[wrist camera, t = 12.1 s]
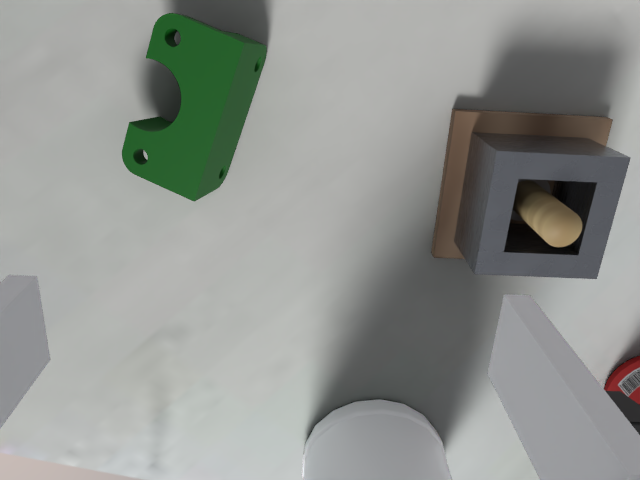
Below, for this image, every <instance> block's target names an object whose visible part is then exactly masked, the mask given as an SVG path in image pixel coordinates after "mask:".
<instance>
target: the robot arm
mask: <svg viewBox="0 0 640 480" xmlns="http://www.w3.org/2000/svg"><path fill="white" fill-rule="evenodd" d="M49 361H50V354H49V348H48V342H47V335H46V329H45V323H44V316H43V310H42V304H41V297H40V291H39V285H38V278H37V276H21V275H8V276H7V277H6V278H5V279H4V280H3V281H2V282H0V428H1V427H2V426H3V424H4V423H5V421H6V420H7V419H8V417H9V416H10V414H11V413H12V412H13V410H14V409H15V408H16V406H17V405H18V403H19V402H20V401H21V399H22V398H23V397H24V395H25V394H26V392H27V391H28V390H29V388H30V387H31V386H32V384H33V383H34V381H35V380H36V379H37V377H38V376H39V375H40V373H41V372H42V370H43V369H44V368H45V366H46V365H47V364H48V362H49ZM487 374H488V376H489V378H490V380H491V382H492V384H493V386H494V388H495V390H496V392H497V394H498V396H499V398H500V400H501V402H502V404H503V406H504V408H505V410H506V412H507V414H508V416H509V418H510V420H511V422H512V424H513V426H514V428H515V430H516V432H517V434H518V436H519V438H520V440H521V442H522V444H523V446H524V448H525V450H526V452H527V454H528V456H529V458H530V460H531V462H532V464H533V466H534V468H535V470H536V472H537V474H538V476H539V478H540V480H640V405H639V404H638V403H636V402H635V401H633V400H632V399H631V398H629V397H628V396H626V395H625V394H624V393H622V392H621V391H605V390H604V389H603V388H602V386H601V385H600V384H599V382H598V381H597V380H596V379H595V377H594V376H593V375H592V374H591V372H590V371H589V370H588V368H587V367H586V366H585V365H584V363H583V362H582V361H581V359H580V358H579V357H578V356H577V354H576V353H575V352H574V350H573V349H572V348H571V347H570V345H569V344H568V343H567V342H566V340H565V339H564V338H563V336H562V335H561V334H560V333H559V331H558V330H557V329H556V327H555V326H554V325H553V324H552V322H551V321H550V320H549V319H548V317H547V316H546V315H545V313H544V312H543V311H542V310H541V308H540V307H539V306H538V304H537V303H536V302H535V301H534V299H533V298H532V297H531V296H530V295H511V294H504V297H503V302H502V307H501V311H500V316H499V321H498V326H497V330H496V335H495V340H494V345H493V349H492V354H491V359H490V364H489V369H488V373H487Z"/></svg>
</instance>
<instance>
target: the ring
mask: <svg viewBox="0 0 640 480" xmlns="http://www.w3.org/2000/svg"><path fill="white" fill-rule="evenodd" d="M629 161H630V157H628V156H626V155H624V154H622V153H619V152H617V151H615V150H613V149H611V148H609V147H606V146H604V145H602V144H600V143H598V142H595V141H593V140H591V139H589V138H578V137H559V136H539V135H520V134H500V133H480V132H471V139H470V145H469V151H468V157H467V163H466V170H465V176H464V182H463V188H462V194H461V200H460V207H459V213H458V219H457V225H456V231H455V237H454V243H455V244H456V246H457V247H458V249H459V250H460V252H461V254H462V255H463V257H464V258H465V260H466V261H467V263H468V265H469V266H470V268H471V269H472V271H473V272H474V274H486V275H511V276H536V277H561V278H587V279H597V276H598V272H599V269H600V265H601V262H602V258H603V255H604V251H605V247H606V244H607V240H608V237H609V233H610V229H611V226H612V222H613V219H614V215H615V211H616V208H617V204H618V201H619V197H620V194H621V190H622V186H623V183H624V179H625V176H626V172H627V168H628V165H629ZM518 179H535V180H555V182H554V186H553V190H552V196H554V197H555V198H556V199H558V200H559V201H560V202H562V203H563V204H564V205H566V206H567V207H568V208H570V209H571V210H572V211H574V212H575V213H576V214H577V215H578V216H579V217H580V218H581V221H582V231H581V233H580V235H579V237H578V238H577V239H576V240H575V241H574V242H573V243H571V244H570V245H567V246H564V247H554V246H551V245H549V244H548V243H547V242H546V241H545V240H544V239H543V238H542V237H541V236H540V235H539V234H538V233H536V232H535V231H534V230H533V229H532V228H531V227H530V226H529V225H528V224H515V223H510V219H511V214H512V209H513V204H514V199H515V194H516V189H517V184H518Z"/></svg>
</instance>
